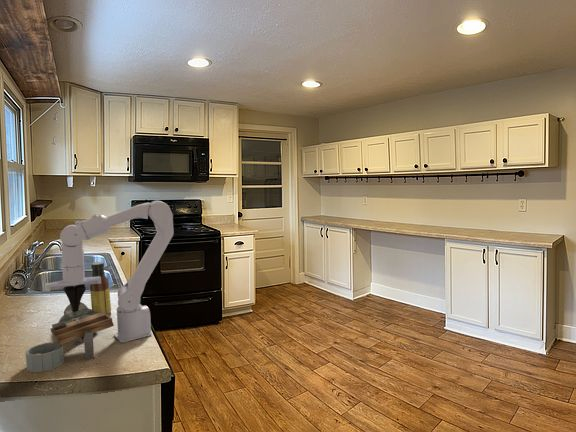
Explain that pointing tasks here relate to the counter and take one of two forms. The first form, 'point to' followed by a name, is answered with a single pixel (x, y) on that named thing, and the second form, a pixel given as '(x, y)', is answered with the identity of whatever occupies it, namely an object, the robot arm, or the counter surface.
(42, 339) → the counter surface
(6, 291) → the counter surface
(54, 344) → the cup
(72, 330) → the lever
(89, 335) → the lever stand
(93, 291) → the sauce bottle
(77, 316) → the detergent
